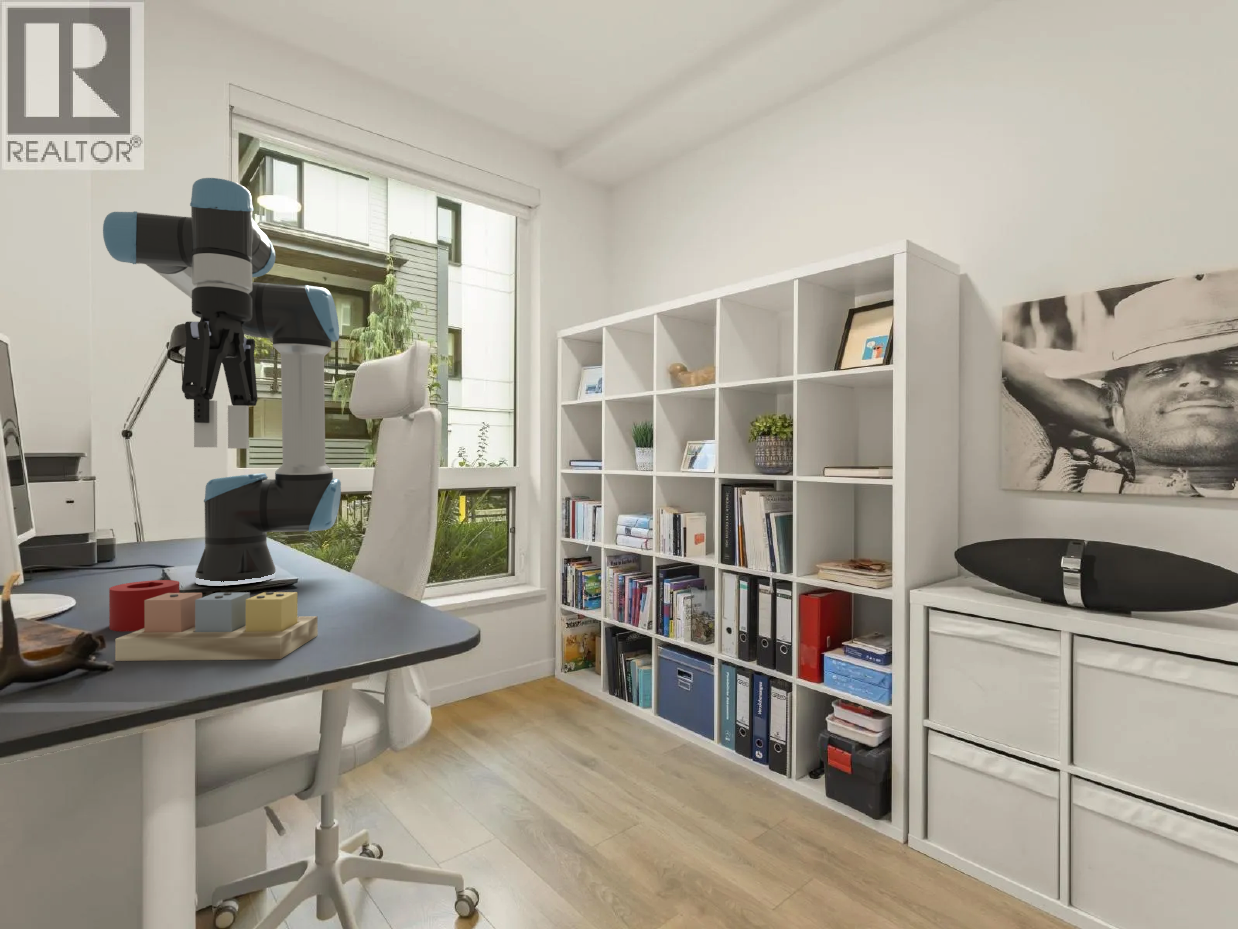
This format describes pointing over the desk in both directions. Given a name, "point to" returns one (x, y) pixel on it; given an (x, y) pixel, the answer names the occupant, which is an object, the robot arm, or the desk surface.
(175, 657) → the button board
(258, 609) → the tile three
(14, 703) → the desk surface
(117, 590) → the red oval ring
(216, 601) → the tile two
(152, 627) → the tile one
